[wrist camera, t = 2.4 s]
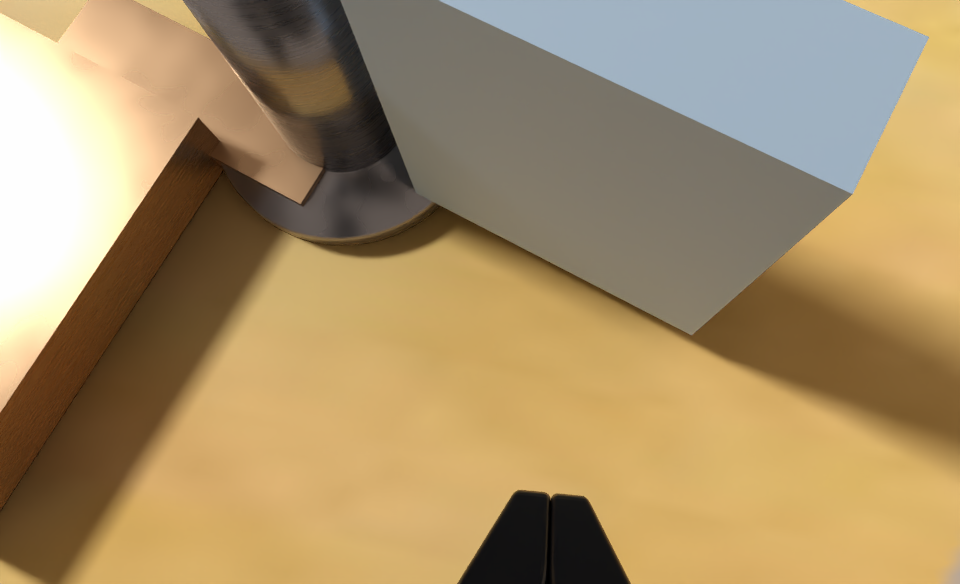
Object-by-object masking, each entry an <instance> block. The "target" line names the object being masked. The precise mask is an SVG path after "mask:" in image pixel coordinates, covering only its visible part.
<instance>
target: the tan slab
mask: <svg viewBox="0 0 960 584" xmlns="http://www.w3.org/2000/svg"><path fill="white" fill-rule="evenodd" d="M183 1H184V3H185V4H186V5H187V7H188V8H189V10H190V11H191V12H192V14H193V15H194V17H195V18H196V19H197V21H198V22H199V23H200V25H201V26H202V28H203V29H204V30H205V32H206V33H207V35H208V36H209V37H210V39H209V38H207V37H205V36H203V35H201V34H199V33H197V32H195V31H193V30H191V29H189V28H187V27H185V26H183V25H181V24H179V23H177V22H175V21H173V20H171V19H169V18H167V17H165V16H163V15H161V14H159V13H157V12H155V11H153V10H151V9H149V8H147V7H145V6H143V5H141V4H139V3H137V2H135V1H133V0H88V1H87V2H86V4H85V5H84V7H83V8H82V9H81V11H80V12H79V13H78V15H77V16H76V18H75V19H74V20H73V22H72V23H71V25H70V26H69V27H68V29H67V30H66V31H65V33H64V34H63V36H62V37H61V38H60V40H59V41H58V43H56V42H54V41H52V40H51V39H49V38H47V37H45V36H43V35H41V34H39V33H37V32H35V31H33V30H32V29H30V28H28V27H26V26H24V25H22V24H20V23H18V22H16V21H14V20H13V19H11V18H9V17H7V16H5V15H3V14H1V13H0V510H1V509H2V507H3V506H4V504H5V503H6V501H7V500H8V498H9V497H10V495H11V494H12V492H13V490H14V489H15V487H16V486H17V484H18V483H19V481H20V480H21V478H22V477H23V475H24V474H25V472H26V471H27V469H28V468H29V466H30V464H31V463H32V461H33V460H34V458H35V457H36V455H37V454H38V452H39V451H40V449H41V448H42V446H43V445H44V443H45V442H46V440H47V439H48V437H49V435H50V434H51V432H52V431H53V429H54V428H55V426H56V425H57V423H58V422H59V420H60V419H61V417H62V416H63V414H64V413H65V411H66V409H67V408H68V406H69V405H70V403H71V402H72V400H73V399H74V397H75V396H76V394H77V393H78V391H79V390H80V388H81V387H82V385H83V384H84V382H85V380H86V379H87V377H88V376H89V374H90V373H91V371H92V370H93V368H94V367H95V365H96V364H97V362H98V361H99V359H100V358H101V356H102V354H103V353H104V351H105V350H106V348H107V347H108V345H109V344H110V342H111V341H112V339H113V338H114V336H115V335H116V333H117V332H118V330H119V329H120V327H121V325H122V324H123V322H124V321H125V319H126V318H127V316H128V315H129V313H130V312H131V310H132V309H133V307H134V306H135V304H136V303H137V301H138V299H139V298H140V296H141V295H142V293H143V292H144V290H145V289H146V287H147V286H148V284H149V283H150V281H151V280H152V278H153V277H154V275H155V274H156V272H157V270H158V269H159V267H160V266H161V264H162V263H163V261H164V260H165V258H166V257H167V255H168V254H169V252H170V251H171V249H172V248H173V246H174V244H175V243H176V241H177V240H178V238H179V237H180V235H181V234H182V232H183V231H184V229H185V228H186V226H187V225H188V223H189V222H190V220H191V219H192V217H193V215H194V214H195V212H196V211H197V209H198V208H199V206H200V205H201V203H202V202H203V200H204V199H205V197H206V196H207V194H208V193H209V191H210V189H211V188H212V186H213V185H214V183H215V182H216V180H217V179H218V177H219V176H220V174H221V173H222V171H223V170H224V171H225V173H226V175H227V177H228V179H229V180H230V182H231V183H232V185H233V186H234V188H235V189H236V191H237V192H238V193H239V194H240V195H241V196H242V198H243V199H244V200H245V201H246V202H247V203H248V204H249V205H250V206H251V207H252V208H253V209H254V210H255V211H256V212H257V213H258V214H260V215H261V216H262V217H263V218H264V219H265V220H267V221H268V222H269V223H271V224H273V225H274V226H276V227H277V228H279V229H280V230H282V231H284V232H286V233H289V234H291V235H293V236H295V237H298V238H301V239H304V240H308V241H311V242H316V243H322V244H328V245H356V244H365V243H370V242H374V241H379V240H382V239H385V238H388V237H391V236H394V235H396V234H399V233H401V232H403V231H405V230H407V229H409V228H411V227H413V226H414V225H416V224H417V223H419V222H420V221H422V220H423V219H425V218H426V217H428V216H429V215H430V214H431V213H432V212H434V211H435V210H436V209H437V208H438V207H439V206H440V205H438V204H436V203H434V202H432V201H430V200H428V199H426V198H425V197H423V196H421V195H419V194H417V193H416V192H415V189H414V187H413V184H412V182H411V179H410V177H409V174H408V171H407V169H406V166H405V164H404V161H403V159H402V156H401V154H400V151H399V148H398V146H397V143H396V141H395V138H394V136H393V133H392V131H391V128H390V126H389V123H388V120H387V118H386V115H385V113H384V110H383V108H382V105H381V103H380V100H379V97H378V95H377V92H376V90H375V87H374V85H373V82H372V80H371V77H370V75H369V72H368V69H367V67H366V64H365V62H364V59H363V57H362V54H361V52H360V49H359V46H358V44H357V41H356V39H355V36H354V34H353V31H352V29H351V26H350V23H349V21H348V18H347V16H346V13H345V11H344V8H343V6H342V3H341V1H340V0H183Z"/></svg>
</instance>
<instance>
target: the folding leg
mask: <svg viewBox="0 0 960 584" xmlns="http://www.w3.org/2000/svg"><path fill="white" fill-rule="evenodd" d="M340 1H341V3H342V6H343V8H344V11H345V13H346V16H347V18H348V21H349V23H350V26H351V29H352V31H353V34H354V36H355V39H356V41H357V44H358V46H359V49H360V52H361V54H362V57H363V59H364V62H365V64H366V67H367V69H368V72H369V75H370V77H371V80H372V82H373V85H374V87H375V90H376V92H377V95H378V97H379V100H380V103H381V105H382V108H383V110H384V113H385V115H386V118H387V120H388V123H389V126H390V128H391V131H392V133H393V136H394V138H395V141H396V143H397V146H398V148H399V151H400V154H401V156H402V159H403V161H404V164H405V166H406V169H407V171H408V174H409V177H410V179H411V182H412V184H413V187H414V189H415V192H416V193H417V194H419V195H421V196H423V197H425V198H426V199H428V200H430V201H432V202H434V203H436V204H438V205H440V206H442V207H444V208H446V209H448V210H450V211H452V212H454V213H456V214H457V215H459V216H461V217H463V218H465V219H467V220H469V221H471V222H473V223H475V224H477V225H479V226H481V227H483V228H485V229H487V230H488V231H490V232H492V233H494V234H496V235H498V236H500V237H502V238H504V239H506V240H508V241H510V242H512V243H514V244H516V245H517V246H519V247H521V248H523V249H525V250H527V251H529V252H531V253H533V254H535V255H537V256H539V257H541V258H543V259H545V260H547V261H548V262H550V263H552V264H554V265H556V266H558V267H560V268H562V269H564V270H566V271H568V272H570V273H572V274H574V275H576V276H578V277H579V278H581V279H583V280H585V281H587V282H589V283H591V284H593V285H595V286H597V287H599V288H601V289H603V290H605V291H607V292H609V293H610V294H612V295H614V296H616V297H618V298H620V299H622V300H624V301H626V302H628V303H630V304H632V305H634V306H636V307H638V308H639V309H641V310H643V311H645V312H647V313H649V314H651V315H653V316H655V317H657V318H659V319H661V320H663V321H665V322H667V323H669V324H670V325H672V326H674V327H676V328H678V329H680V330H682V331H684V332H686V333H688V334H690V335H693V334H694V333H695V332H696V331H697V330H698V329H700V328H701V327H702V326H703V325H704V324H705V323H706V322H708V321H709V320H710V319H711V318H712V317H713V316H714V315H716V314H717V313H718V312H719V311H720V310H721V309H722V308H724V307H725V306H726V305H727V304H728V303H729V302H730V301H731V300H733V299H734V298H735V297H736V296H737V295H738V294H739V293H741V292H742V291H743V290H744V289H745V288H746V287H747V286H749V285H750V284H751V283H752V282H753V281H754V280H755V279H757V278H758V277H759V276H760V275H761V274H762V273H763V272H764V271H766V270H767V269H768V268H769V267H770V266H771V265H772V264H774V263H775V262H776V261H777V260H778V259H779V258H780V257H782V256H783V255H784V254H785V253H786V252H787V251H788V250H790V249H791V248H792V247H793V246H794V245H795V244H796V243H797V242H799V241H800V240H801V239H802V238H803V237H804V236H805V235H807V234H808V233H809V232H810V231H811V230H812V229H813V228H815V227H816V226H817V225H818V224H819V223H820V222H821V221H823V220H824V219H825V218H826V217H827V216H828V215H829V214H830V213H832V212H833V211H834V210H835V209H836V208H837V207H838V206H840V205H841V204H842V203H843V202H844V201H845V200H846V199H848V198H849V197H850V196H851V195H852V194H853V192H854V190H855V188H856V186H857V184H858V182H859V180H860V178H861V176H862V174H863V172H864V170H865V168H866V165H867V163H868V161H869V159H870V157H871V155H872V153H873V151H874V149H875V147H876V145H877V143H878V141H879V139H880V137H881V135H882V133H883V131H884V128H885V126H886V124H887V122H888V120H889V118H890V116H891V114H892V112H893V110H894V108H895V106H896V104H897V102H898V100H899V98H900V96H901V94H902V92H903V89H904V87H905V85H906V83H907V81H908V79H909V77H910V75H911V73H912V71H913V69H914V67H915V65H916V63H917V61H918V59H919V57H920V55H921V53H922V50H923V48H924V46H925V44H926V42H927V40H928V38H929V37H928V36H925V35H923V34H921V33H918V32H916V31H914V30H911V29H909V28H907V27H904V26H902V25H900V24H897V23H895V22H893V21H890V20H888V19H885V18H883V17H881V16H878V15H876V14H874V13H871V12H869V11H867V10H864V9H862V8H860V7H857V6H855V5H853V4H850V3H848V2H846V1H843V0H340Z"/></svg>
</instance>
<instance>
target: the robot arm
mask: <svg viewBox="0 0 960 584" xmlns="http://www.w3.org/2000/svg"><path fill="white" fill-rule="evenodd" d="M457 584H631V583H630V581H629V579H628V577H627V575H626V573H625V571H624V569H623V567H622V565H621V563H620V561H619V559H618V557H617V555H616V553H615V551H614V549H613V547H612V545H611V543H610V541H609V540H608V538H607V536H606V534H605V532H604V530H603V528H602V526H601V524H600V522H599V520H598V518H597V516H596V514H595V512H594V510H593V508H592V506H591V504H590V502H589V501H588V499H587V498H585V497H584V496H578V495H567V494H554V495H553V496H552V497H551V501H550V496H549V494H547V493H545V492H536V491H526V490H518V491H516V492H515V493H514V494H513V495H512V496H511V498H510V499H509V501H508V503H507V504H506V506H505V508H504V509H503V511H502V512H501V514H500V516H499V517H498V519H497V520H496V522H495V524H494V525H493V527H492V529H491V530H490V532H489V533H488V535H487V537H486V538H485V540H484V541H483V543H482V545H481V546H480V548H479V549H478V551H477V553H476V554H475V556H474V558H473V559H472V561H471V562H470V564H469V566H468V567H467V569H466V570H465V572H464V574H463V575H462V577H461V579H460V580H459V582H458V583H457Z"/></svg>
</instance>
